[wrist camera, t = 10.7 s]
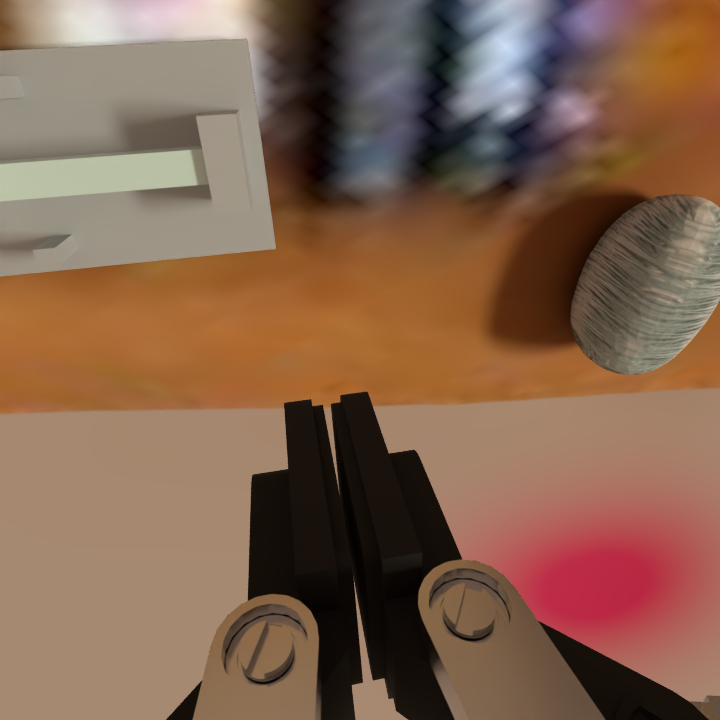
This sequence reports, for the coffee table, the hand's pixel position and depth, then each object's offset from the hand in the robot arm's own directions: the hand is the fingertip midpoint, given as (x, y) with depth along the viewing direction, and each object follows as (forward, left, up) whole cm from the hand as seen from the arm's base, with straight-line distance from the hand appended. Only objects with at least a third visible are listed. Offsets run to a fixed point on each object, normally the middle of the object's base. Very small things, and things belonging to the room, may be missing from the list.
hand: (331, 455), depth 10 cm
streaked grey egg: (+8, +26, -27) cm, 39 cm away
